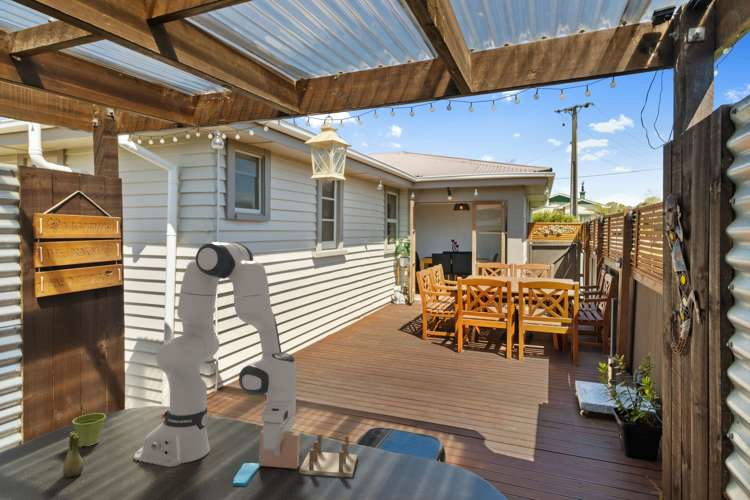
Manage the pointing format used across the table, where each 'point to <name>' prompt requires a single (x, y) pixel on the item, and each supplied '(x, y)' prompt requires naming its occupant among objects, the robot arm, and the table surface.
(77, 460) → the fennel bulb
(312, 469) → the slot rack
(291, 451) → the ceramic tile
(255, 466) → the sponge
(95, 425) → the plant pot
